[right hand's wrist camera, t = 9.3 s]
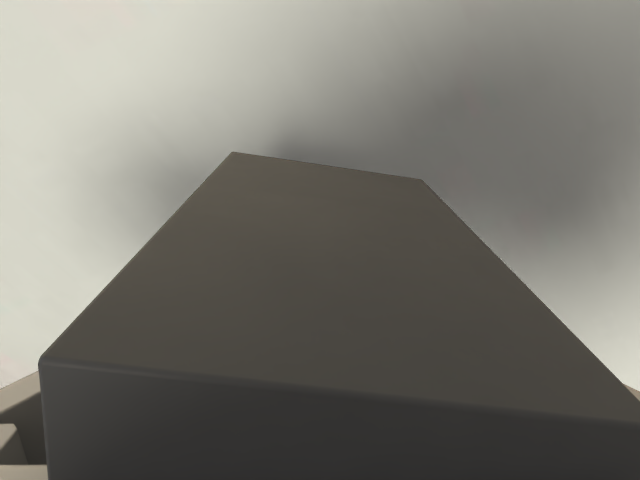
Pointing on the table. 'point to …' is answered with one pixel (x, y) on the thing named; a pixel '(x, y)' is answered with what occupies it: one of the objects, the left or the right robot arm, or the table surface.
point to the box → (326, 348)
